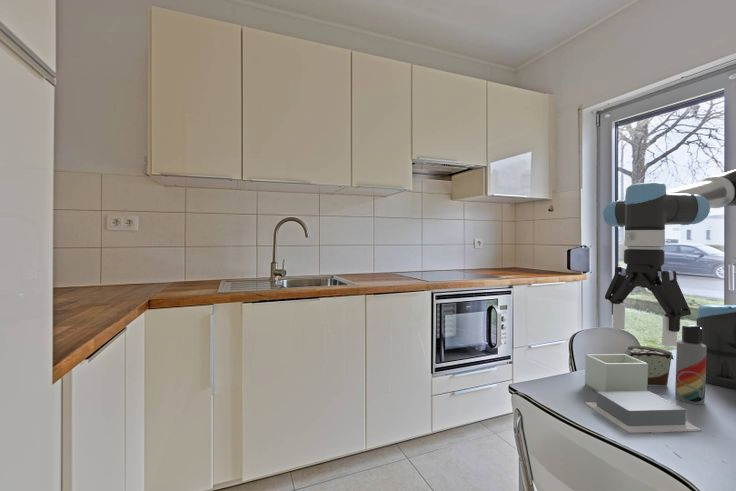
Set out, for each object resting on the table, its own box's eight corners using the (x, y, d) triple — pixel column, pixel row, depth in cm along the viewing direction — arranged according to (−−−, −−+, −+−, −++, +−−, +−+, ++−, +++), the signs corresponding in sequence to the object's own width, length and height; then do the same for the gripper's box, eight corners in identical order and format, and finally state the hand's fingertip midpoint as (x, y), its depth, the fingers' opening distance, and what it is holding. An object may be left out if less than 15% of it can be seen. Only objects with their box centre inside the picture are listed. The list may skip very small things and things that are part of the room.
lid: (647, 404, 85) (648, 390, 85) (685, 424, 76) (685, 409, 76) (596, 405, 84) (597, 391, 84) (628, 426, 75) (628, 410, 75)
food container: (656, 378, 104) (657, 345, 103) (672, 386, 98) (673, 352, 97) (614, 375, 105) (615, 344, 105) (627, 384, 99) (628, 350, 99)
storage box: (623, 384, 98) (624, 354, 98) (647, 396, 91) (648, 363, 91) (584, 385, 97) (585, 354, 97) (605, 397, 90) (606, 364, 90)
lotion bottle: (694, 406, 86) (697, 328, 86) (669, 396, 91) (672, 322, 91) (710, 403, 87) (712, 327, 87) (684, 393, 93) (686, 322, 93)
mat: (647, 402, 87) (647, 401, 87) (700, 430, 74) (700, 429, 74) (585, 403, 86) (585, 402, 86) (628, 432, 73) (628, 431, 73)
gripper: (590, 247, 93) (588, 323, 93) (682, 249, 68) (679, 354, 68) (615, 247, 93) (614, 323, 94) (716, 250, 68) (713, 353, 69)
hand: (641, 336), depth 81 cm, fingers open, 13 cm apart
